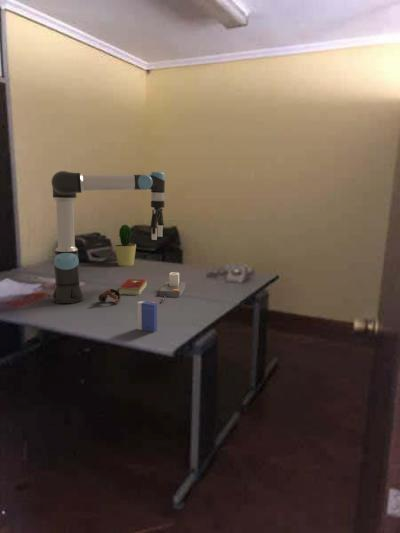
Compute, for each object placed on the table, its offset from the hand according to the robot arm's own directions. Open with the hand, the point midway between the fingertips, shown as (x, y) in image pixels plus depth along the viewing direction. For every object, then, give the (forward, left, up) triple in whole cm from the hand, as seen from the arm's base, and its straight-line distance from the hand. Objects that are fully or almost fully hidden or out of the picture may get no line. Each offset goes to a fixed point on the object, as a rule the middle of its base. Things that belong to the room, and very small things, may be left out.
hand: (157, 238), depth 223 cm
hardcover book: (-7, +12, -30) cm, 33 cm away
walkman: (-67, -11, -29) cm, 73 cm away
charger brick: (-4, -11, -28) cm, 31 cm away
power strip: (-14, -11, -29) cm, 34 cm away
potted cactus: (+57, +36, -29) cm, 74 cm away
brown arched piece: (-35, +17, -29) cm, 48 cm away
